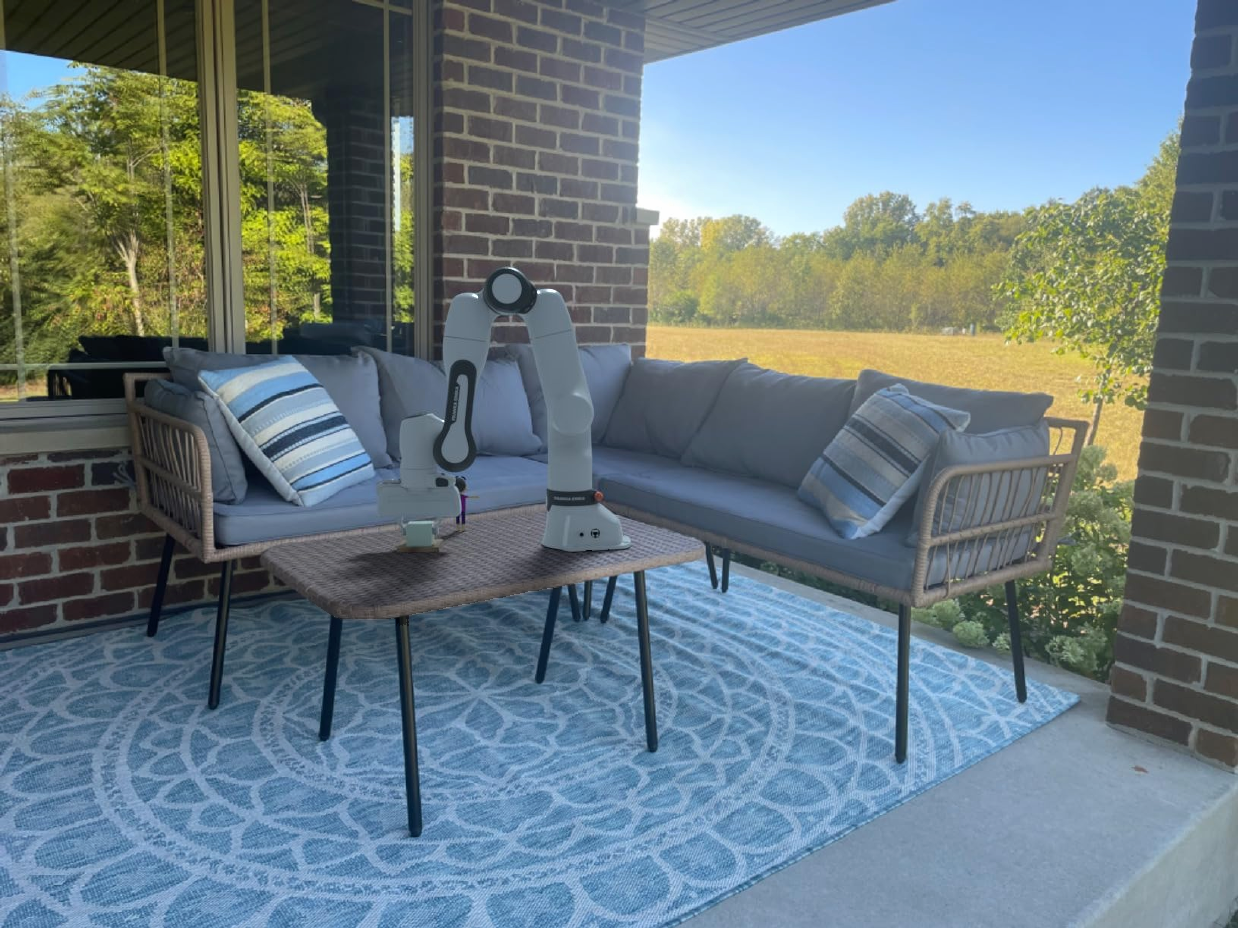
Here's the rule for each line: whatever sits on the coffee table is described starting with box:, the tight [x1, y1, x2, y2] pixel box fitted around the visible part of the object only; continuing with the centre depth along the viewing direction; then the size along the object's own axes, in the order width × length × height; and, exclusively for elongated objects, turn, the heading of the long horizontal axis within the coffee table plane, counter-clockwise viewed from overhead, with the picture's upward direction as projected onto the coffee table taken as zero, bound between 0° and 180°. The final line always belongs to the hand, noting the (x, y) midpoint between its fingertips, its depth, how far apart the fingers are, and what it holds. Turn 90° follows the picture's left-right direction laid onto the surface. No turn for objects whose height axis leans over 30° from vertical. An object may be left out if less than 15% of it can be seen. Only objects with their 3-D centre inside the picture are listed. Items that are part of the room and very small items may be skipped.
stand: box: [396, 538, 444, 553], centre depth 220 cm, size 10×10×5 cm
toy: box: [454, 475, 480, 532], centre depth 239 cm, size 10×6×15 cm, turn 82°
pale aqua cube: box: [405, 520, 435, 546], centre depth 220 cm, size 6×6×5 cm
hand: (420, 534), depth 220 cm, fingers closed on pale aqua cube, 6 cm apart
